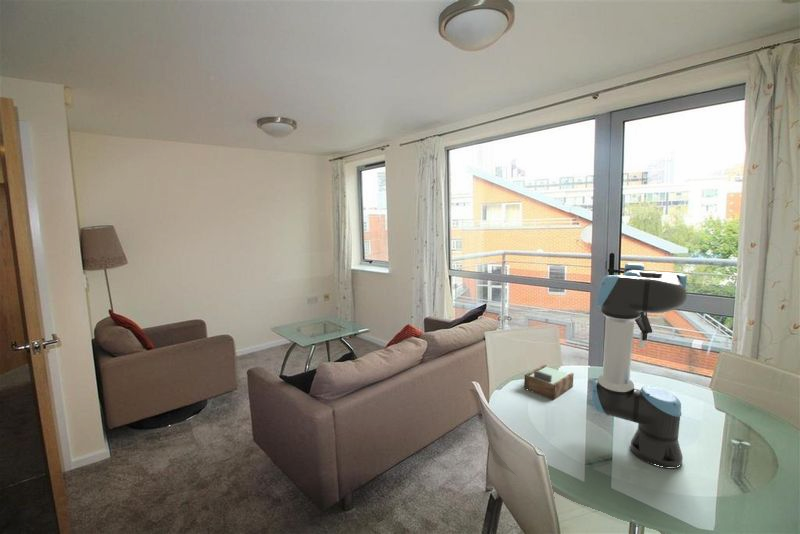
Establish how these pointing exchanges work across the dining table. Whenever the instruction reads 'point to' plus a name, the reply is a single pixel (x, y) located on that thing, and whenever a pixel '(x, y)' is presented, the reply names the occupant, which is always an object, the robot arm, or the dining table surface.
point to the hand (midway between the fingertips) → (628, 342)
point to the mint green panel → (549, 375)
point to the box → (548, 385)
